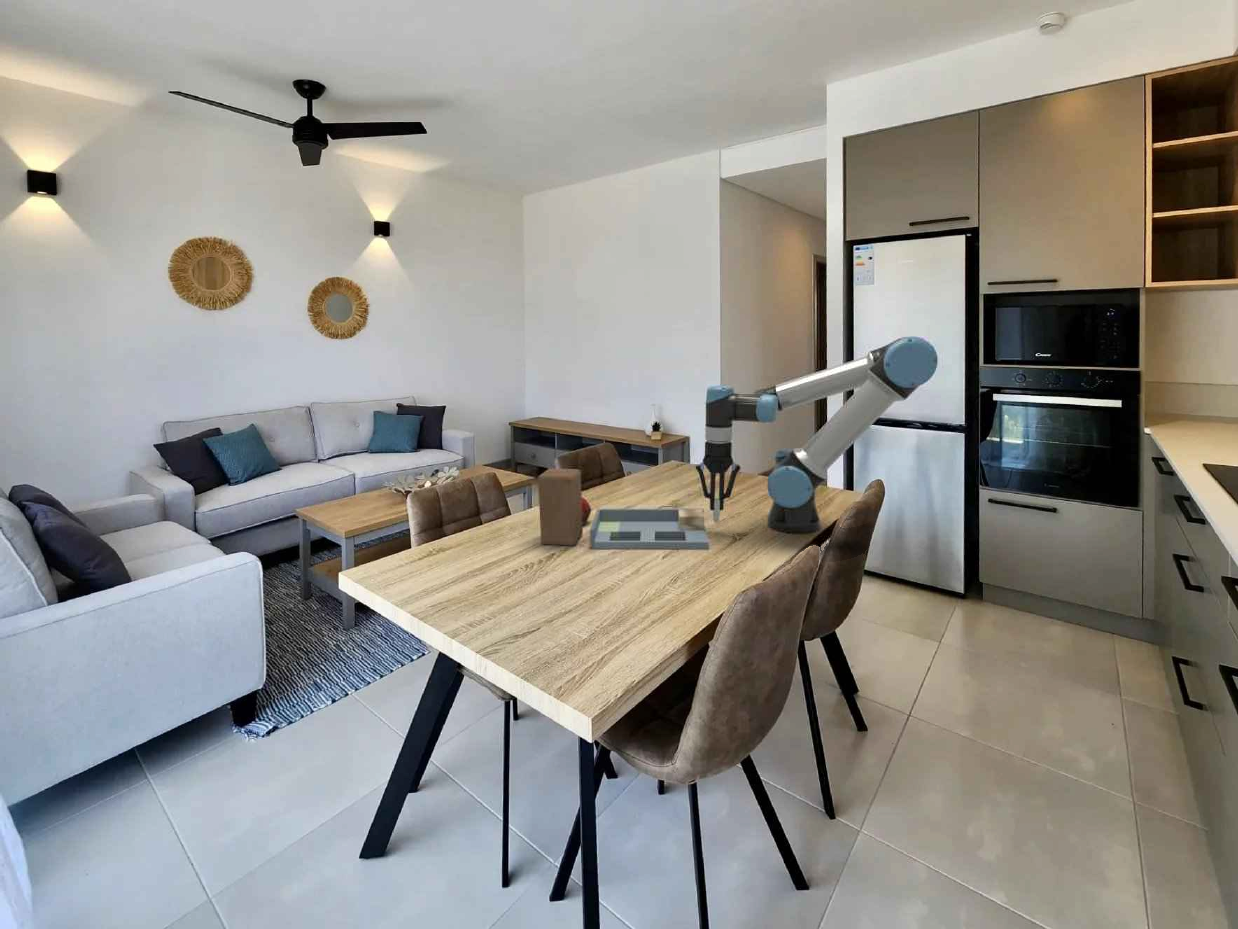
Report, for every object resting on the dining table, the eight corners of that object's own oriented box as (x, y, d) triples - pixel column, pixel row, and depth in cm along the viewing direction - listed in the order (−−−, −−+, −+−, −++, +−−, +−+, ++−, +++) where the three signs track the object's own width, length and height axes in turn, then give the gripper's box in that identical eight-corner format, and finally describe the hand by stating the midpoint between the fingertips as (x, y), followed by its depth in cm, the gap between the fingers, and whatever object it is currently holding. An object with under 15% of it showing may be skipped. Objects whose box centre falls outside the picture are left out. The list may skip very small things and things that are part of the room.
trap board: (702, 526, 182) (703, 508, 181) (708, 549, 162) (708, 529, 161) (597, 526, 184) (597, 508, 183) (590, 548, 164) (590, 529, 163)
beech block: (702, 522, 179) (702, 509, 178) (703, 530, 172) (703, 516, 171) (678, 522, 179) (678, 509, 178) (679, 530, 172) (679, 516, 172)
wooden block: (574, 546, 166) (571, 476, 162) (540, 545, 168) (536, 475, 164) (583, 535, 176) (581, 468, 172) (550, 533, 178) (547, 467, 174)
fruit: (586, 517, 193) (585, 487, 191) (594, 525, 185) (593, 494, 183) (558, 520, 191) (557, 489, 189) (565, 529, 182) (564, 497, 180)
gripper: (739, 438, 173) (737, 517, 178) (694, 438, 174) (693, 516, 179) (743, 443, 166) (740, 525, 171) (696, 443, 167) (694, 524, 172)
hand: (716, 520), depth 175 cm, fingers closed
